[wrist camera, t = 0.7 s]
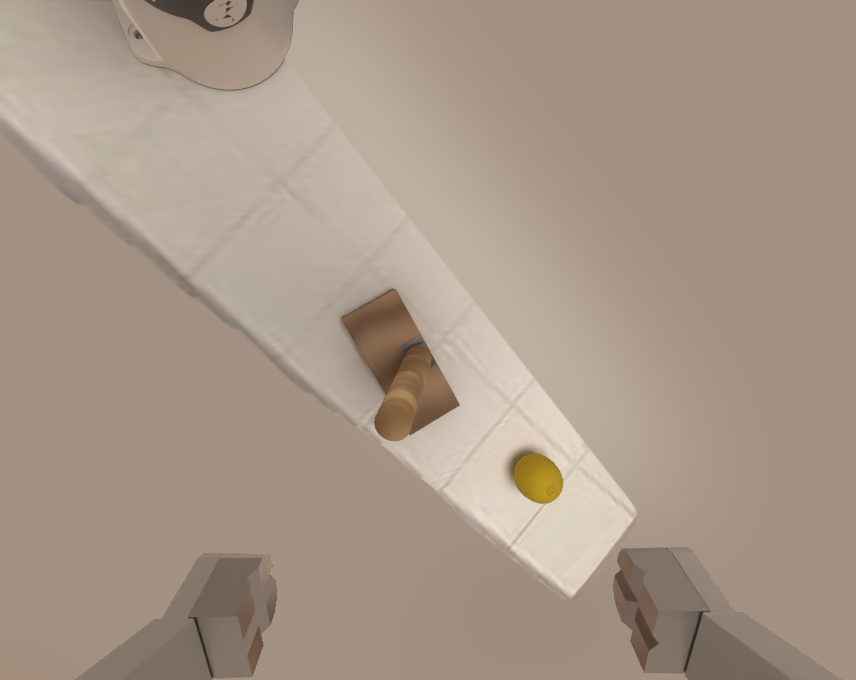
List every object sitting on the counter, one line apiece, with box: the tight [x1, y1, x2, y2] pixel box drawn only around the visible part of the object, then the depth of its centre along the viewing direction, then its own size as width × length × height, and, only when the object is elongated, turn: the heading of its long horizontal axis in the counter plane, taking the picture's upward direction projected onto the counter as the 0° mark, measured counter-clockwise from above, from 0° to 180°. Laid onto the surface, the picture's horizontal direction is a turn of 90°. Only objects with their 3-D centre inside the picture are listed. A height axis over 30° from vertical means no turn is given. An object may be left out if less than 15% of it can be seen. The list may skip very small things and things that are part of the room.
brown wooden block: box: [341, 289, 459, 435], centre depth 53 cm, size 16×7×3 cm, turn 29°
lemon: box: [514, 454, 563, 504], centre depth 56 cm, size 6×6×8 cm
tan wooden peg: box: [375, 342, 435, 441], centre depth 44 cm, size 3×3×17 cm
